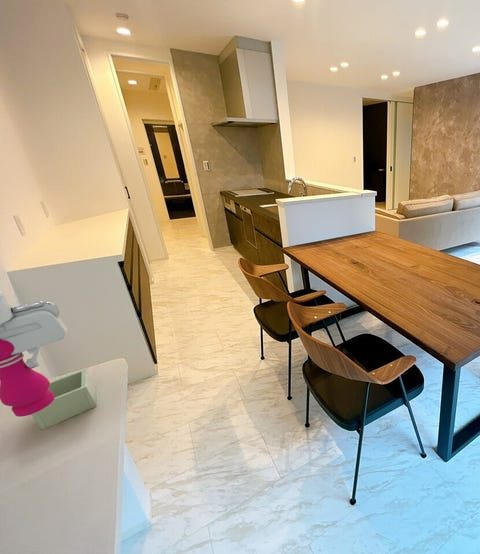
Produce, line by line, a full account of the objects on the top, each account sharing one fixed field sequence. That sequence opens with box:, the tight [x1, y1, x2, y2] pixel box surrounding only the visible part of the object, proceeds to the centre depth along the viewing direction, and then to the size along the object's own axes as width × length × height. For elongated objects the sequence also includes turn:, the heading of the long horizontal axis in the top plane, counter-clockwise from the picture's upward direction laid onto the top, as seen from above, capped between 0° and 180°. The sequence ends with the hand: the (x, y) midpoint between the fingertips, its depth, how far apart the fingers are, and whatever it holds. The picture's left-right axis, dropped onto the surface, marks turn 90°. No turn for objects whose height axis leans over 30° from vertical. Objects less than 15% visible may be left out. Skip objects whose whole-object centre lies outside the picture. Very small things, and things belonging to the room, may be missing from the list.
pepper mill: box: [0, 339, 55, 418], centre depth 63 cm, size 7×7×20 cm
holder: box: [30, 368, 98, 431], centre depth 83 cm, size 11×11×7 cm
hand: (14, 373), depth 63 cm, fingers closed on pepper mill, 4 cm apart
